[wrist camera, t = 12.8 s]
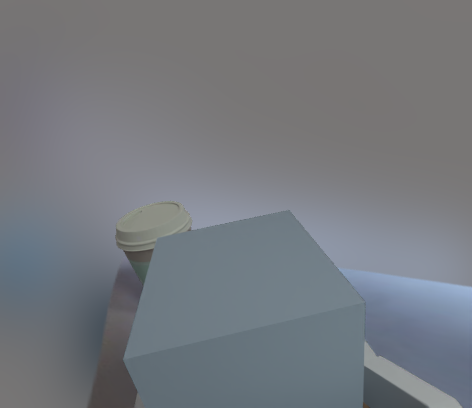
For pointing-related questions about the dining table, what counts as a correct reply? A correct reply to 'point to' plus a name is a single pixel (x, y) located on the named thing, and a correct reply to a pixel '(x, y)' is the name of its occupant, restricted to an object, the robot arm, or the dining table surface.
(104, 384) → the dining table surface
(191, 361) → the blue-grey rectangular block
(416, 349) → the dining table surface
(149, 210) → the coffee cup
